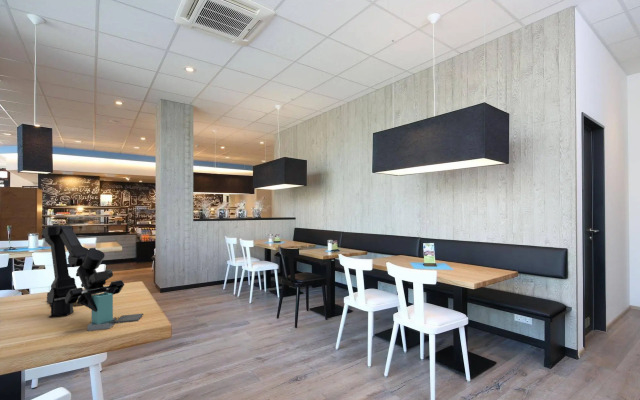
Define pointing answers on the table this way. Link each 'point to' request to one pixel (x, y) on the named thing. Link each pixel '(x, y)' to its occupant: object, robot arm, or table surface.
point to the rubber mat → (129, 318)
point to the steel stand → (101, 325)
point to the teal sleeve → (103, 308)
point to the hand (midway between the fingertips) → (104, 308)
